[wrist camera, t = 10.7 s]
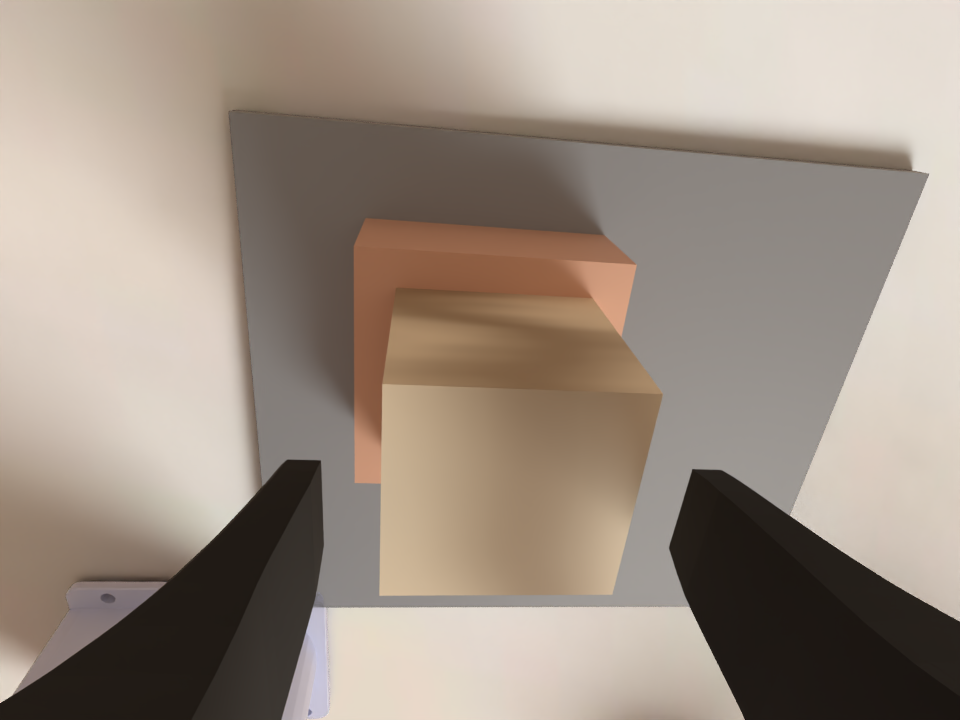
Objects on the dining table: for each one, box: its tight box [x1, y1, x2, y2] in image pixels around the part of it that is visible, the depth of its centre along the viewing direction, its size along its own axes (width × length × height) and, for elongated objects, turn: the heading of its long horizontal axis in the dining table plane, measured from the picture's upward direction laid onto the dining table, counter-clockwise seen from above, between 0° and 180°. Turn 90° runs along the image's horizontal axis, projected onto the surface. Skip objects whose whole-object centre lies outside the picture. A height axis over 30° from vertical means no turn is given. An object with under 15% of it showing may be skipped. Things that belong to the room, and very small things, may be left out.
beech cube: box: [379, 288, 663, 596], centre depth 14 cm, size 5×5×5 cm
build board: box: [229, 110, 929, 608], centre depth 19 cm, size 20×18×4 cm
